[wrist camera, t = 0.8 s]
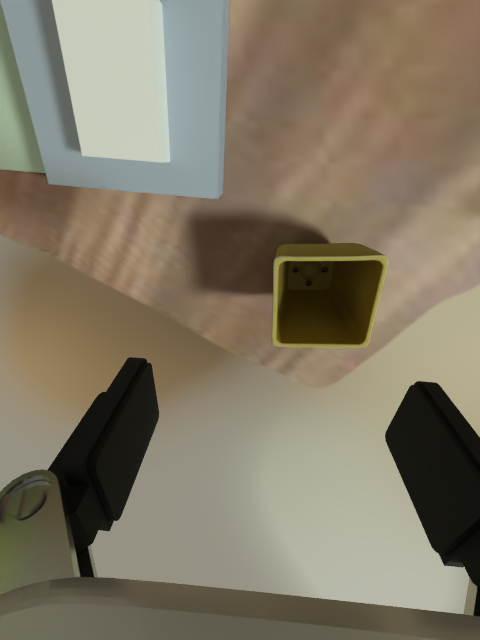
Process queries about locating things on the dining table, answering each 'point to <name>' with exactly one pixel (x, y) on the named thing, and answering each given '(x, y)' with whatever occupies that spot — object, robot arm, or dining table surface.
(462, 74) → the dining table surface
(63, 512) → the robot arm
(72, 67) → the white rectangular block
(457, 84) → the dining table surface
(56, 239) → the dining table surface
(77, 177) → the plate
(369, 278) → the flower pot
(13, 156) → the mat
